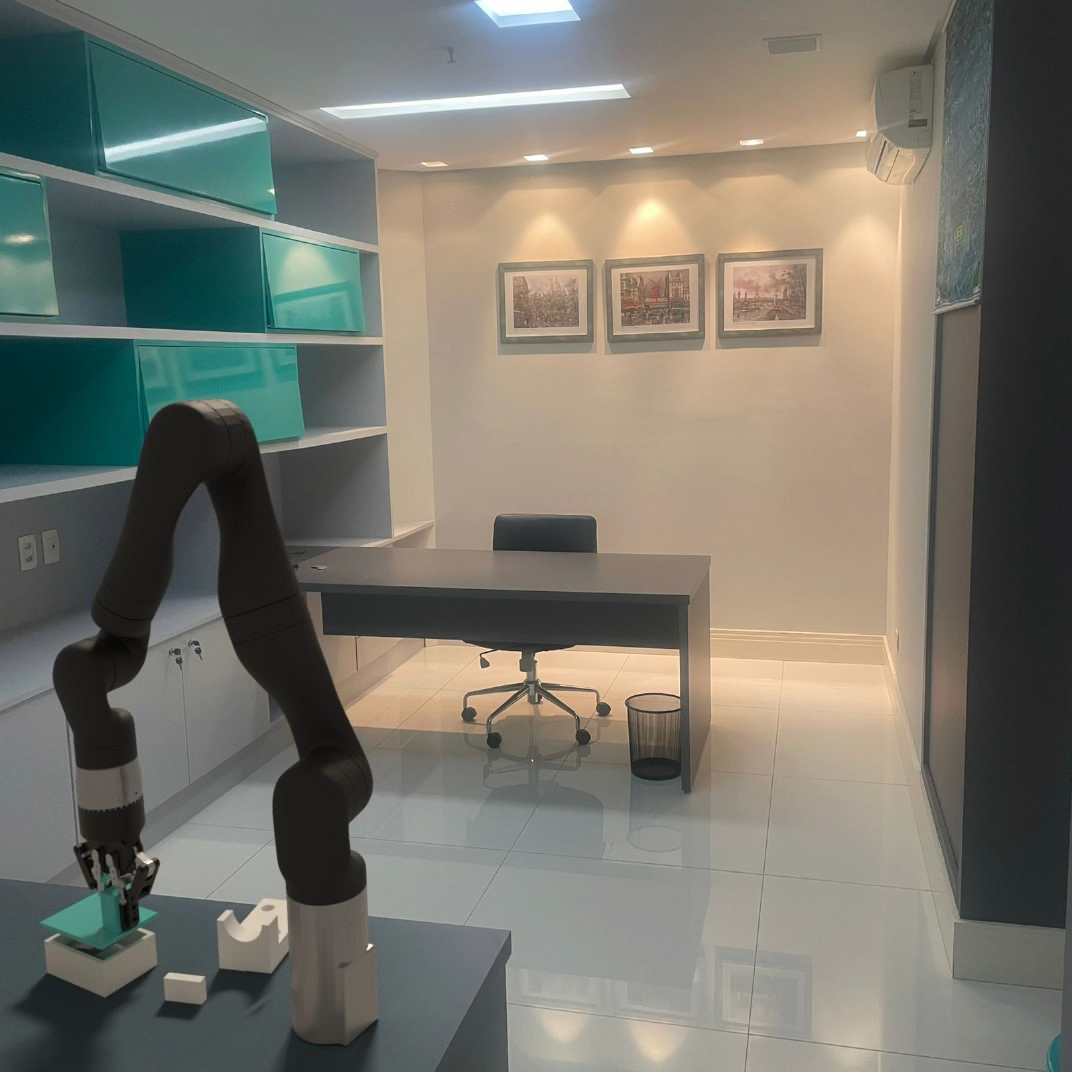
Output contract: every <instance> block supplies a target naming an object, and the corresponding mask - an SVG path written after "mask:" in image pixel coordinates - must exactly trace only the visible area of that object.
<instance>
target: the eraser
mask: <svg viewBox="0 0 1072 1072" xmlns="http://www.w3.org/2000/svg"><path fill="white" fill-rule="evenodd" d="M163 985H164V986H163V987H164V1001H168V1002H169V1001H170V1002H177V1003H184V1004H192V1005H193V1004H195V1005H203V1004H204V1002H205V1001H206V1000H207V999H208V997H207V987H206V986H207V985H206V976H204V975H195V974H186V973H177V972H168V973H167V974H166V975H165V976H164V977H163Z"/></svg>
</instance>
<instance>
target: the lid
mask: <svg viewBox="0 0 1072 1072" xmlns="http://www.w3.org/2000/svg"><path fill="white" fill-rule="evenodd" d="M130 888H131V887H130V883H129V884H128V885H127V886H126V891H127V892H128V891H130ZM119 904H120V903H119V900H118V895H117V889H116V887H113V886H111V887H109V888H107V889H106V890H103V891H101V892H100V896H99V895H98V891H97V892H95V893H93V894H92V895H89V896H88V897H86V898H84V899H82V900H80V901H78V902H76V903H74V904H72V905H70V906H69V907H66V908H64V909H63V910H61V911H59V912H57V913H55V914H53V915H51V916H50V917H47V918H45V919H43V920H42V921H40V922H39V927H41V928H43V929H45V930H48V931H50V932H53V933H56V934H57V933H58V934H61V935H63V936H66V937H69V938H71V939H74V940H77V941H79V942H82V943H84V944H87V945H90V946H92V947H95V948H98V949H100V950H103V949H105V948H106V947H108V946H110V945H111V944H113V943H115V942H117V941H118V940H120V939H122V938H123V937H125V936H127V935H129V934H130V933H132V932H134V931H135V930H137V929H139V928H143V927H144V926H146V925H147V924H149V923H150V922H151V923H152V921H154V920H156V919H157V918H159V912H157V911H154V910H151V909H148V908H145V907H142V906H139V916H140V921H139V923H138V925H137V926H136V927H134V928H133V929H131V930H129V931H127V932H126V931H123V930H122V929H121V922H120V912H119ZM138 905H140V904H139V903H138Z"/></svg>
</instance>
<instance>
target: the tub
mask: <svg viewBox="0 0 1072 1072" xmlns="http://www.w3.org/2000/svg"><path fill="white" fill-rule="evenodd" d="M76 941H77V940H74V939H71V938H69V937H66V936H63V935H61V934H58V933H56V934H54V935H52V936H50V937H49V938H46V939H45V940H44V941H43V942H44V951H45V952H44V953H45V961H46V962H45V963H46V972H47V974H50V975H51V976H54V977H57V978H59V979H61V980H63V981H66V982H68V983H71V984H73V985H75V986H76V987H79V988H81V989H84V990H87V991H88V992H91V993H94V994H96V995H97V996H100V997H103V998H108V997H109V996H110V995H112V994H113V993H115V992H117V991H118V990H119V989H122V987H124V986H126V985H128V984H129V983H131V982H132V981H134V980H135V979H138V978H139V977H140V976H142V975H144V974H145V973H147V972H148V971H150V970H152V969H153V968H154V967H156V966H158V957H157V942H156V933H155V932H153V931H151V930H148V929H145V928H143V927H141V928H139V929H137V930H135V931H134V932H132V933H130V934H129V935H127V936H125V937H123V938H122V939H120V940H118V941H117V942H115V943H113V944H111V945H110V946H112V945H114V944H119V945H121V946H124V947H125V948H124V949H122V950H120V951H119V952H117V953H115V954H113V955H112V956H110V957H108V958H107V959H105V960H101V959H98V958H96V957H93V956H91V955H88V954H86V953H83V952H81V951H78V950H76V949H74V948H71V946H72V945H73V944H74V943H75V942H76ZM110 946H108V947H106V949H107V948H109V947H110Z"/></svg>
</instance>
